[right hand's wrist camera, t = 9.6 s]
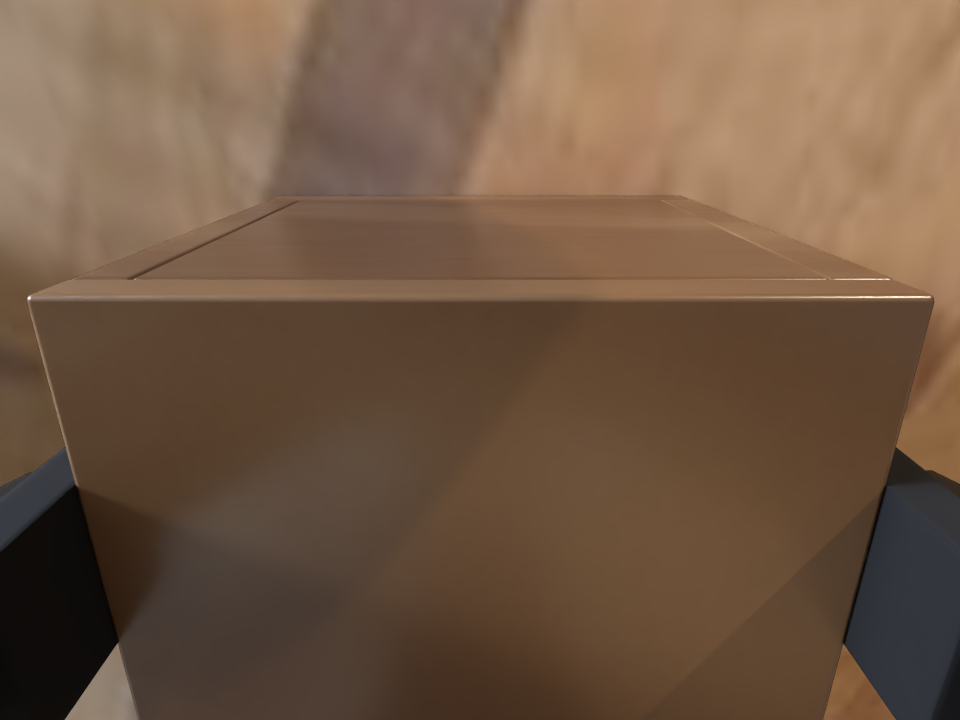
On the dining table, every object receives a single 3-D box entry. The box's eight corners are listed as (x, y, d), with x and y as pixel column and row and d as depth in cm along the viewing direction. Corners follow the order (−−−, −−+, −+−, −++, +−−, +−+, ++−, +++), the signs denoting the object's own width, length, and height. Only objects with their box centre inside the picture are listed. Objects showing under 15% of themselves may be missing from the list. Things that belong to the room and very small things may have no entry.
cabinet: (631, 658, 22) (738, 1044, 13) (329, 658, 22) (222, 1043, 13) (683, 195, 17) (940, 295, 7) (278, 195, 17) (22, 295, 7)
